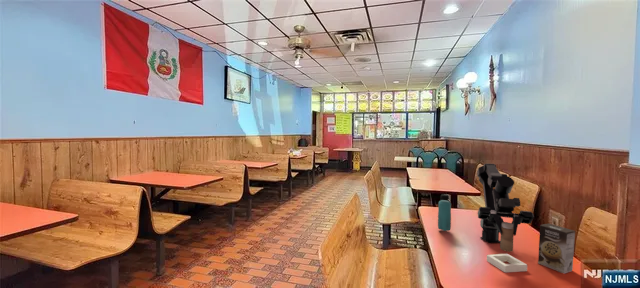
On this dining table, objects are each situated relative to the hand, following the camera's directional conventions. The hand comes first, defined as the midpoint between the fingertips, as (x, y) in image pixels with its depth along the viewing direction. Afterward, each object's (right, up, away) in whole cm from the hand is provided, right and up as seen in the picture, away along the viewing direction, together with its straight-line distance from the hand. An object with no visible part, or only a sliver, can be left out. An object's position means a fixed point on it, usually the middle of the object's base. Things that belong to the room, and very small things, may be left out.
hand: (508, 234), depth 107 cm
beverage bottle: (-7, -12, +39) cm, 41 cm away
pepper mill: (+1, -7, +2) cm, 7 cm away
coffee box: (+19, -14, +1) cm, 24 cm away
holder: (+1, -13, +2) cm, 13 cm away
